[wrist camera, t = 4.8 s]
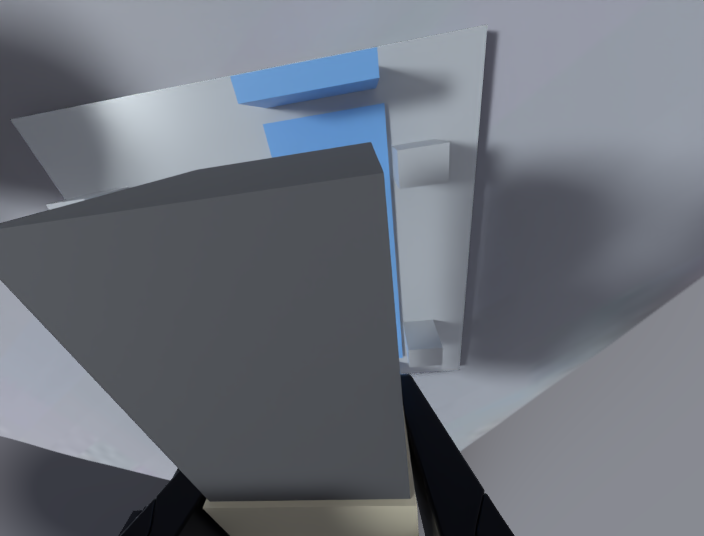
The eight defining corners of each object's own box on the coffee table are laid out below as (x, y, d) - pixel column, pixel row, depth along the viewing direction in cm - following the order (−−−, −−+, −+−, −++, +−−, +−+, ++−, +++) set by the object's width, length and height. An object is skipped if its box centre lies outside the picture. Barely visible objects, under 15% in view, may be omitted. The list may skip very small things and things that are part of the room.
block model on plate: (456, 363, 20) (473, 408, 17) (197, 380, 23) (170, 422, 19) (481, 29, 11) (530, -11, 7) (24, 119, 13) (-85, 118, 10)
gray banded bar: (405, 467, 12) (422, 610, 9) (318, 469, 13) (301, 606, 9) (375, 140, 5) (399, 173, 2) (193, 170, 6) (-67, 240, 2)
